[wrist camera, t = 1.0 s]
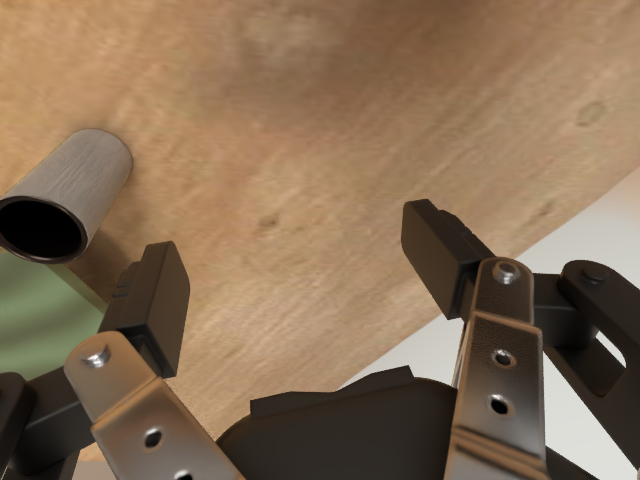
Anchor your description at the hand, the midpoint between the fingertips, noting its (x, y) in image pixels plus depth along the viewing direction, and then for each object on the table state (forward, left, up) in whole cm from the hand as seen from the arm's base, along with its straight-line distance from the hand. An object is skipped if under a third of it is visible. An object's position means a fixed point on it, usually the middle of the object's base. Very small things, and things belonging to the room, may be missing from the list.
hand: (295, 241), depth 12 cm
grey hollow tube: (+3, -13, -18) cm, 23 cm away
